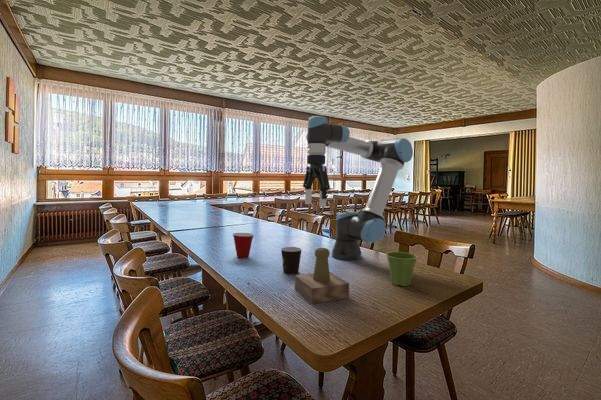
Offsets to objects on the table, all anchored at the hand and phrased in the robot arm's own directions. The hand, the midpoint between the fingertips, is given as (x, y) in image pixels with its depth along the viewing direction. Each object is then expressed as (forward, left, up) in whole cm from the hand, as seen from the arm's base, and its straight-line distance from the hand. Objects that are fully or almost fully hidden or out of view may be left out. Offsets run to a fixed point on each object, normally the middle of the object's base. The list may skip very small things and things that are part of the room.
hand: (315, 205), depth 129 cm
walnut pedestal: (+8, +22, -29) cm, 37 cm away
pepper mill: (+8, +22, -24) cm, 33 cm away
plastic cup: (+22, -35, -29) cm, 50 cm away
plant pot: (-26, +24, -29) cm, 46 cm away
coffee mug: (+8, -5, -29) cm, 30 cm away
